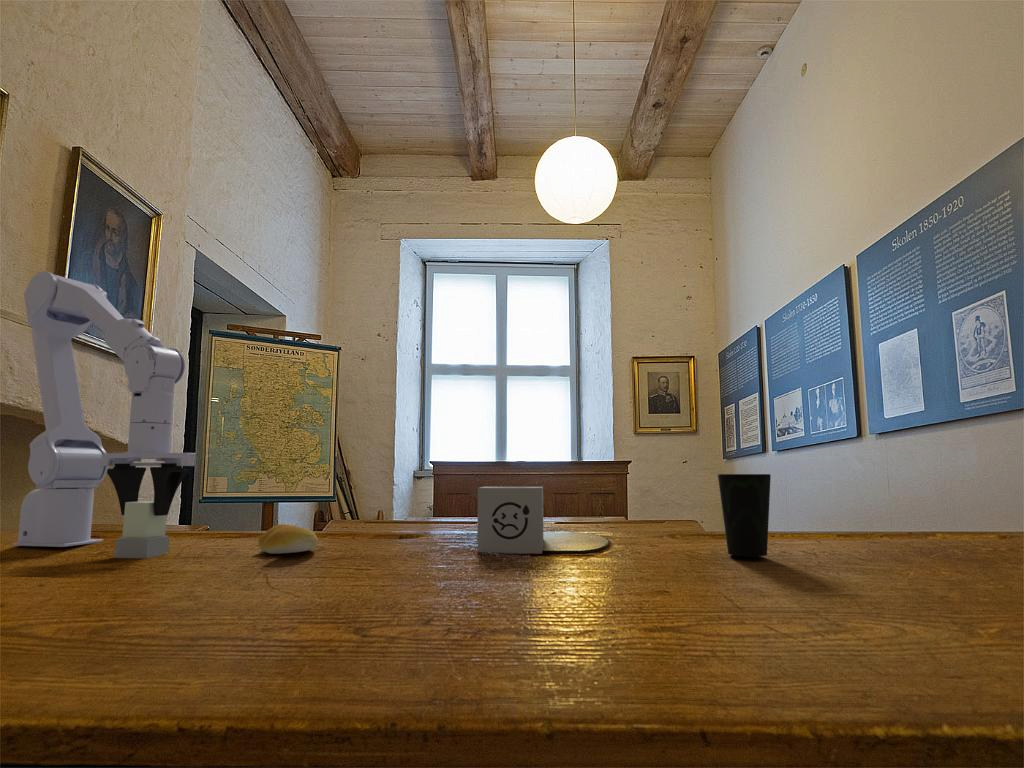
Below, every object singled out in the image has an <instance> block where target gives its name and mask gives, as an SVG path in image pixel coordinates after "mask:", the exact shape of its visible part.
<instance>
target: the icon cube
mask: <svg viewBox="0 0 1024 768" xmlns="http://www.w3.org/2000/svg"><path fill="white" fill-rule="evenodd" d="M476 545H477V553H498V554H499V553H501V554H502V553H503V554H504V553H505V554H507V553H508V554H542V555H543V549H544V486H481V487H477V544H476Z"/></svg>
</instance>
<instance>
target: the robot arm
mask: <svg viewBox="0 0 1024 768" xmlns="http://www.w3.org/2000/svg"><path fill="white" fill-rule="evenodd" d="M23 296H24V303H25V311H26V318H27V324H28V325H29V326H30V327H31V339H32V345H33V352H34V358H35V359H34V360H35V365H36V371H37V379H38V385H39V392H40V399H41V406H42V410H43V411H42V412H43V421H44V426H45V431H43V432H41V433H40V434H39V435H37V436H36V437H35V438H34V439H33V440H31V442H30V443H29V449H30V452H29V460H28V465H27V469H28V475H29V477H30V479H31V480H32V483H34V484H35V488H36V489H33V490H31V491H30V492H28V493H27V494H26V495H25V496H24V499H22V503H21V507H20V515H19V516H20V517H19V526H18V527H19V528H18V538H17V542H12V546H14V547H18V546H19V547H21V546H22V547H49V548H50V547H54V548H64V547H74V546H80V545H81V546H83V545H89V544H96V543H100V542H103V541H104V539H103V538H92V537H91V535H92V521H93V511H94V498H95V488H99V487H100V483H102V482H103V481H104V479H105V478H106V476H107V475H108V477H109V479H110V481H111V482H112V484H113V486H114V490H115V492H116V495H117V497H118V499H117V500H118V502H119V503H118V504H119V509H120V513H121V516H124V512H125V502H139V497H140V496H139V494H140V489H141V485H142V481H143V479H144V475H145V473H146V471H147V467H149V471H150V474H151V479H152V485H153V493H154V494H153V502H154V515H155V516H162V515H167V516H168V515H169V513H170V509H171V505H172V503H173V500H174V497H175V494H176V493H177V490H178V488H179V486H180V485H181V483H182V481H184V478H185V477H186V476H187V474H188V468H184V467H195V466H196V465H195V464H196V452H171V448H172V447H171V446H172V433H173V432H172V431H173V418H174V416H173V415H174V401H175V389H176V388H175V387H176V386H175V385H177V383H179V382H180V381H181V379H182V378H183V375H184V372H185V368H186V364H185V363H186V362H185V359H184V356H183V355H182V353H181V352H180V350H179V349H177V348H174V347H173V348H172V347H168V348H167V347H166V346H165V347H164V345H163V344H162V342H161V339H160V338H158V337H156V336H153V335H152V333H150V332H149V331H148V330H147V329H146V328H145V326H146V324H145V323H144V321H143V320H140V319H136V318H124V316H123V315H121V313H120V312H119V311H118V310H117V309H116V308H115V307H114V305H113V304H112V303H111V302H110V300H109V299H108V292H106V291H105V290H103V289H102V288H101V287H100V286H99V285H98V284H94V283H87V282H83V281H79V280H75V279H73V278H69V277H65V276H61V275H57V274H53V273H52V272H49V271H46V270H42V271H38V272H37V273H36V274H35V275H33V277H31V279H30V280H29V282H28V285H27V287H26V289H25V291H24V293H23ZM92 323H93V324H94V325H95V326H96V327H98V328H99V329H100V330H101V331H103V332H104V342H105V344H106V346H107V347H109V349H110V350H112V352H113V353H114V354H116V356H118V357H119V359H121V360H122V361H123V362H124V363H123V368H124V369H123V370H124V372H125V375H126V377H127V380H128V385H127V386H128V387H127V388H128V389H129V392H130V393H131V401H130V402H131V403H130V415H129V427H128V428H129V429H128V441H127V442H128V443H127V452H113V453H112V452H111V453H107V451H106V450H105V449H104V447H103V444H102V439H101V437H100V436H99V435H98V434H96V433H95V432H94V431H93V430H92V429H90V428H89V427H88V426H86V424H85V418H84V410H83V406H82V399H81V393H80V392H81V391H80V388H79V387H80V386H79V382H78V381H79V380H78V375H77V370H76V364H75V363H76V362H75V358H74V357H75V356H74V350H73V345H72V340H73V338H75V337H78V336H81V335H83V334H84V333H85V332H86V330H87V329H88V328H89V327H90V326H91V324H92ZM142 460H155V461H156V462H142ZM110 467H113V468H110Z"/></svg>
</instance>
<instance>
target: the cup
mask: <svg viewBox="0 0 1024 768" xmlns="http://www.w3.org/2000/svg"><path fill="white" fill-rule="evenodd" d="M771 477H772V476H771V474H770V473H766V474H765V473H759V474H758V473H745V474H744V473H736V474H735V473H725V474H724V473H718V474H717V479H718V486H719V488H718V489H719V495H720V501H721V511H722V517H723V525H724V530H725V532H724V533H725V540H726V547H727V554H728V555H731V556H737V557H739V556H740V557H766V556H767V555H768V545H769V544H768V542H769V541H768V538H769V520H770V519H769V518H770V517H769V516H770V498H771V497H770V496H771V495H770V494H771Z"/></svg>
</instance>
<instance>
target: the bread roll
mask: <svg viewBox="0 0 1024 768" xmlns="http://www.w3.org/2000/svg"><path fill="white" fill-rule="evenodd" d="M318 542H319V539H318V536H317V534H316V533H315V531H313V530H311V529H308V528H305V527H299V526H296V525H292V524H284V523H283V524H282V523H281V524H278V525H277V524H276V525H275V526H272V527H270V528H269V529H268V530H266V532H264V533H263V534H262V535H261V536H260V537H259V539H258V542H257V545H258V548H259V549H260V551H261V552H262V551H263V553H268V554H269V555H270V554H271V555H272V554H273V555H274V554H276V555H279V554H291V553H301V552H307V551H312V550H314V549H316V548H317V547H318Z"/></svg>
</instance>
